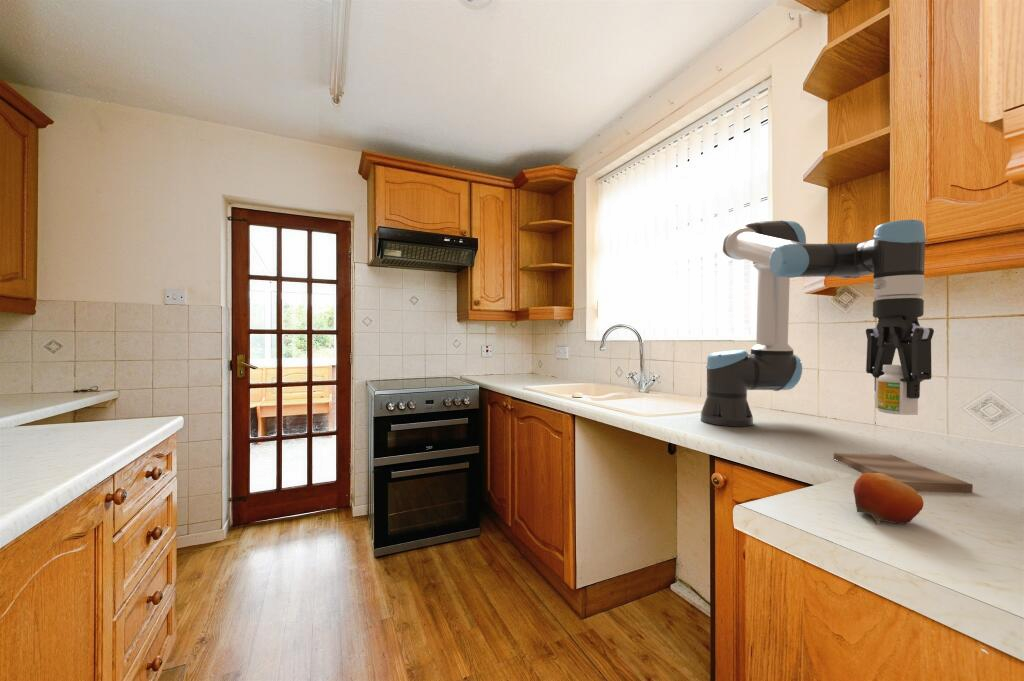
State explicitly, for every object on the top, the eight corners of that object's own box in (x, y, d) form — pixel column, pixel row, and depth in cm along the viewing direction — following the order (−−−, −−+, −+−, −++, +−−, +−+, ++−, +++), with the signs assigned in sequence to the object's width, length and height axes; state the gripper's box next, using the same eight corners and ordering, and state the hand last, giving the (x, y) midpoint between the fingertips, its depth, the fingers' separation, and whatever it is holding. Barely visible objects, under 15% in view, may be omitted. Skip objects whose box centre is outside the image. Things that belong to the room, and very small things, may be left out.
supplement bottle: (882, 413, 82) (883, 365, 81) (873, 409, 86) (874, 364, 86) (918, 416, 79) (919, 367, 79) (907, 411, 84) (908, 364, 84)
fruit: (828, 499, 67) (852, 458, 67) (866, 523, 67) (890, 481, 67) (875, 522, 59) (902, 475, 59) (918, 548, 59) (945, 501, 59)
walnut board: (833, 459, 92) (833, 453, 92) (890, 461, 91) (890, 454, 91) (899, 489, 75) (899, 481, 75) (972, 492, 73) (972, 484, 73)
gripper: (845, 301, 92) (844, 403, 92) (917, 294, 73) (914, 420, 74) (881, 301, 91) (879, 403, 91) (963, 293, 73) (960, 421, 73)
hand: (895, 411), depth 83 cm, fingers closed on supplement bottle, 5 cm apart
